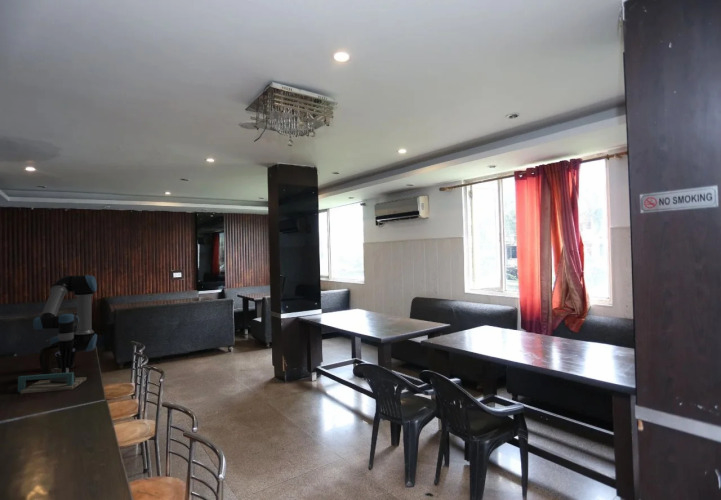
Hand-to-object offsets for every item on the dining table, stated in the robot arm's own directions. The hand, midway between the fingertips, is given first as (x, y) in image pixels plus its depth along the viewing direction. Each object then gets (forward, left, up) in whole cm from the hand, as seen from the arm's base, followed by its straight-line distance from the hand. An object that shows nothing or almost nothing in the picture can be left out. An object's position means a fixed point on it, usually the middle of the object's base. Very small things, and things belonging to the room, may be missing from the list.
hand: (65, 378), depth 239 cm
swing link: (+2, -1, -1) cm, 3 cm away
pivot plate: (+4, -4, -3) cm, 6 cm away
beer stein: (-18, -17, -3) cm, 25 cm away
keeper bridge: (+10, -6, -3) cm, 12 cm away
